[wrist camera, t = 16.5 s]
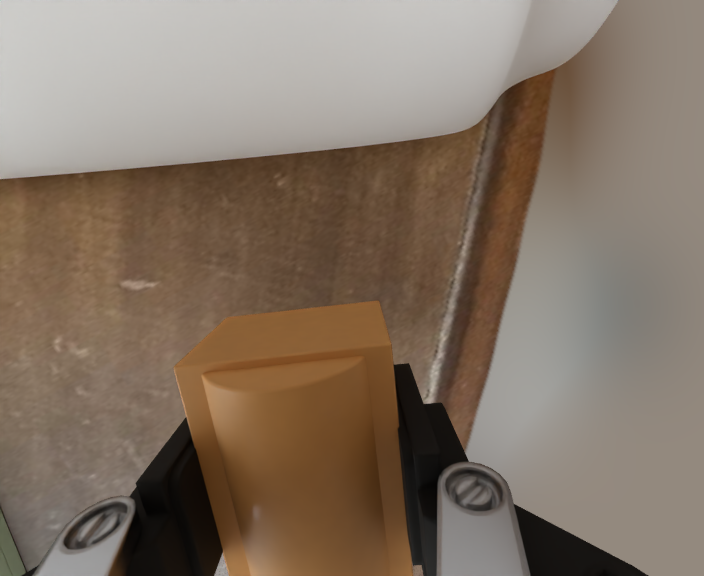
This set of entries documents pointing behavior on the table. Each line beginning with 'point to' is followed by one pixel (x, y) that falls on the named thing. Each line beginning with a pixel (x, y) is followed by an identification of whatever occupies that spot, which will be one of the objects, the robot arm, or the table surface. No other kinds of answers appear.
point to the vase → (260, 74)
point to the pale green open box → (9, 553)
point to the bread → (300, 441)
